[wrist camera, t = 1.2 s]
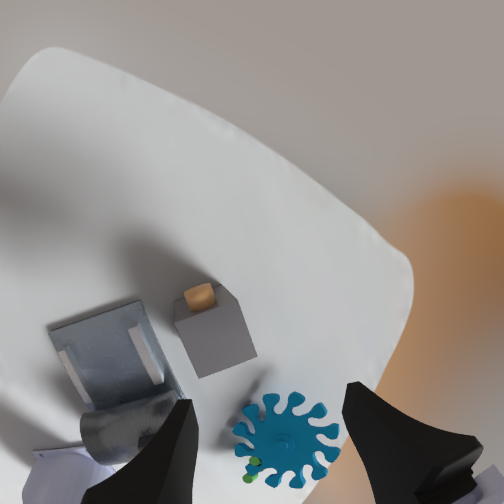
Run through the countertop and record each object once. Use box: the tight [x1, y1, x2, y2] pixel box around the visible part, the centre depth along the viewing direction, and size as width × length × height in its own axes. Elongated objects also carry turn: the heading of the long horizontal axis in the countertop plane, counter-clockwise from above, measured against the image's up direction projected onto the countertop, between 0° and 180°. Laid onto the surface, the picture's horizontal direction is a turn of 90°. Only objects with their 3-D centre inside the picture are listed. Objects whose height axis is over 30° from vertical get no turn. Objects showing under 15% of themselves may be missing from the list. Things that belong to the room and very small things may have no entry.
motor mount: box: [49, 300, 197, 466], centre depth 17 cm, size 9×12×7 cm
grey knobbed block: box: [174, 283, 257, 379], centre depth 20 cm, size 4×5×6 cm
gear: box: [232, 392, 341, 488], centre depth 23 cm, size 11×6×10 cm
